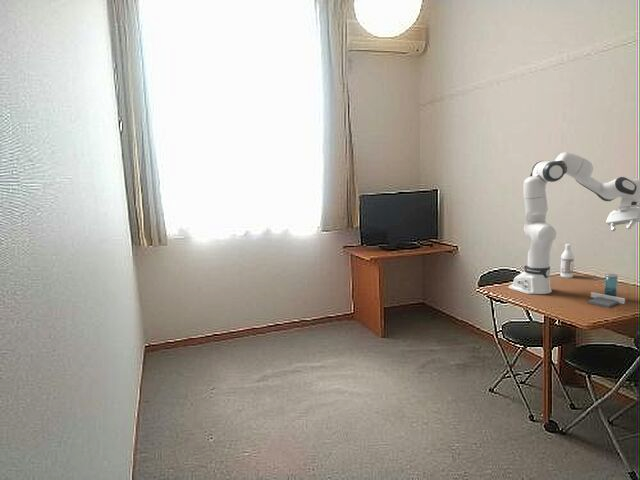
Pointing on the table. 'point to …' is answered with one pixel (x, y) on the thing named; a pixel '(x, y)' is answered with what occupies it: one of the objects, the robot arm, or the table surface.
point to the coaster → (603, 302)
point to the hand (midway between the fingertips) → (620, 229)
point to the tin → (611, 284)
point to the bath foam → (567, 262)
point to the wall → (608, 297)
